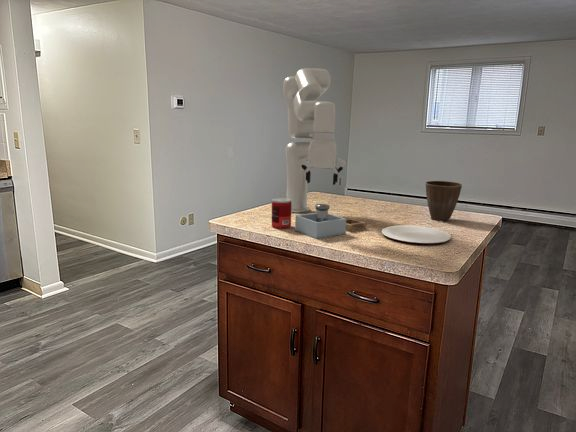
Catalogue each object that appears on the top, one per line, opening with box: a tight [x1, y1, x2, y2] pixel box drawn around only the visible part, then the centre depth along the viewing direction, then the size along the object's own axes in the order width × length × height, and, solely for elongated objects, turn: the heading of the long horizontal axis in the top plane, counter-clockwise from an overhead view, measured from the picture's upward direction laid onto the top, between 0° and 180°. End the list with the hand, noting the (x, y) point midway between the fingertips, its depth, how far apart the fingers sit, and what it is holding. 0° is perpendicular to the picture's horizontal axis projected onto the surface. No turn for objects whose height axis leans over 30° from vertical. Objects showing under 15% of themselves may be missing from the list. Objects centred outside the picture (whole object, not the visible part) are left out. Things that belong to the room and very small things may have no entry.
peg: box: [314, 203, 330, 222], centre depth 168 cm, size 5×5×10 cm
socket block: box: [345, 217, 367, 232], centre depth 177 cm, size 9×9×2 cm
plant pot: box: [425, 180, 463, 222], centre depth 193 cm, size 15×15×16 cm
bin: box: [294, 212, 347, 240], centre depth 169 cm, size 14×14×6 cm
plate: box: [381, 224, 452, 245], centre depth 166 cm, size 25×25×2 cm
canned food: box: [271, 197, 292, 230], centre depth 176 cm, size 8×8×11 cm
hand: (321, 183), depth 166 cm, fingers open, 9 cm apart
